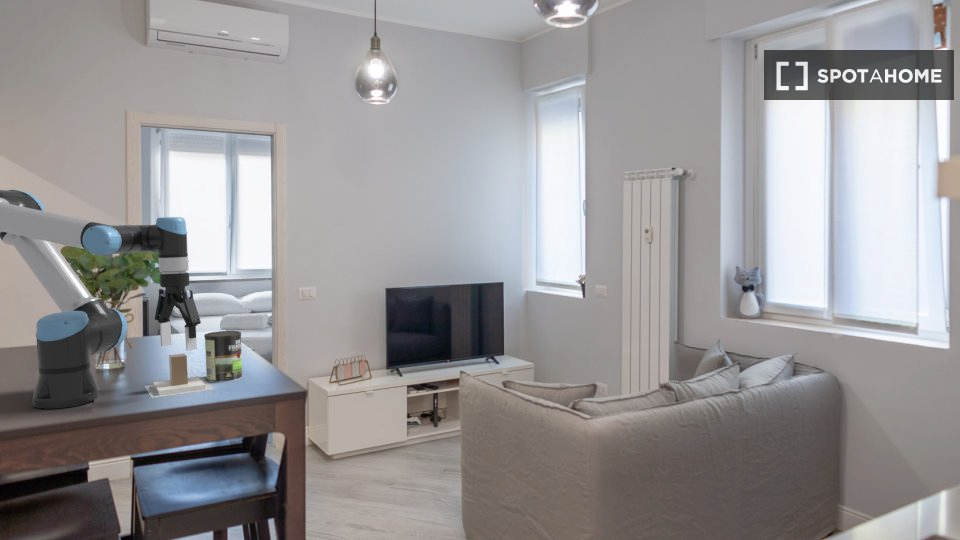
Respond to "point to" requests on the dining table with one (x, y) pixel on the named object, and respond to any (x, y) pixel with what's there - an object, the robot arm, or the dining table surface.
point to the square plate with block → (178, 378)
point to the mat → (154, 394)
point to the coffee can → (223, 356)
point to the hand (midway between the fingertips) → (178, 347)
